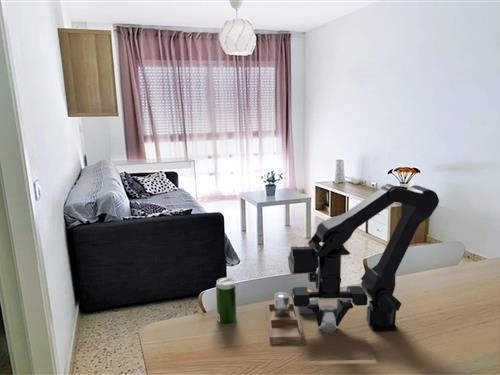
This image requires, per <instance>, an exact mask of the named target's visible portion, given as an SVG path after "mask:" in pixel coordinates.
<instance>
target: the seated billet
mask: <svg viewBox="0 0 500 375" xmlns="http://www.w3.org/2000/svg"><path fill="white" fill-rule="evenodd" d="M273 295H274V297H273V298H274V299H273V300H274V301H273V303H274V316H275V317H290V303H291V294H290V293H288V292H285V291H279V292H275V293H274V294H273Z"/></svg>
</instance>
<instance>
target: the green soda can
mask: <svg viewBox="0 0 500 375" xmlns="http://www.w3.org/2000/svg"><path fill="white" fill-rule="evenodd" d="M236 284H237V283H236V282H235V279H233V277H221V278H218V279H217V280H216V284H215V289H216V292H215V293H216V297H215V298H216V320H217V323H218V324H220V325H223V326H229V325H232V324H234V323H236V322H237V320H238V319H237V318H238V317H237V293H236V292H237V287H236V286H237V285H236Z"/></svg>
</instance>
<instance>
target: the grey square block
mask: <svg viewBox="0 0 500 375" xmlns="http://www.w3.org/2000/svg"><path fill="white" fill-rule="evenodd" d="M297 310H298V314H299V315H300V314H303V315H305V314H314V313H313V311H312V309H308V308H307V307H297Z"/></svg>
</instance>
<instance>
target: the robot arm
mask: <svg viewBox="0 0 500 375" xmlns="http://www.w3.org/2000/svg"><path fill="white" fill-rule="evenodd" d="M394 203H397V204H400V207H401V208H400V209H401V210H400V211H401V212H400V213H401V214H400V218H399V220H398V222H397V224H396V226H395V228H394V230H393V232H392V234H391V235H390V238H389V240H388V242H387V244H386V246H385V249H384V251H383V252H382V254H381V257H380V258H379V261H378V263H377V264H376V265H375V266H373V267H370V266H367V267H366V268H365V272H364V273H363V275H362V276H361V278H360V280H361V283H360V285H352V286H351V285H348V286H347V287H346V289H345V290H341V283H342V277H341V275H342V273H341V272H342V256H349V255H350V254H351V252H350V251H349V250H348V249H347V248H346V247H345V245H344V244H345V243H347V241H348V240H350V239H351V237H352V235H353V234H354V232H355V231H356V230H357V229H358V228H359V227H361V226H362V225H363V224H365V223H366V222H368V221H369V220H371V219H372V218H373V217H375V216H376V215H379V214H380V213H381V212H383V211H384V210H385V209H387V208H388V207H390V206H391V205H393V204H394ZM439 203H440V198H439V196H438V194H437V193H436V191H434V190H432V189H429V188H426V187H423V186H420V185H417V184H416V185H412V186H408V187H406V186H401V185H394V184H390V183H386V184H384V185H383V184H382V186H381V188H380V189H378V190H376V191H375V192H374V193H372V194H371V195H369V196H367V197H366V198H365V199H363V200H362V201H360V202H358V204H356V205H355V206H353V207H352V208H351V209H349V210H347V211H346V212H344V213H341V214H339V215H334V216H331V217H330V218H328V219H326V220H323V221H321V222H320V223H319V224H318V225H317V227H316V232H314V234H313V235H312V237H311V238H310V240H309V241H308V242H307V244H308V246H291V247H290V251H289V254H288V256H287V259H288V260H287V262H288V269H289V271H290V274H291V275H297V274H298V275H300V274H308V275H307V279H308V282H309V283H314V285H315V288H316V290H317V291H312V292H308V290H307V289H308V288H307V287H308V286H296V287H295V286H294V287H293V288H292V289H291V299H292V303H294V306H296V307H297V308H298V307H307V308H308V309H312V311H313V313H312V314H314V317H315V319H316V323H317V326H318V328H319V327H320V305H319V303H318V300H322V301H323V300H336V302H337V304H336V309H337V322H336V327H339V326H340V324H341V322H342V321H343V318H344V316H345V315H346V314H347V313H348V311H349V310H350V309H354V306H367V305H368V306H367V307H366V321H367V323H368V325H369V326H370V327H371V329H372V331H374V332H383V331H385V332H386V331H388V332H389V331H392V332H393V331H398V327H397V325H396V319H397V317H396V316H397V311H399V310H400V309H401V306H402V302H401V301H400V300H398V299H397V298H396V297H395V296H394V293H395V288H396V273H397V272H398V270H399V267H400V266H401V263H402V261H403V259H404V257H405V255H406V253H407V251H408V249H409V247H410V245H411V242H412V240H413V239H414V237H415V235H416V233H417V231H418V228H419V227H420V225H421V224H422V223H424V222H425V221H426V220H427V219H429V218H430V217H431V216H432V215H433V213H434V212H435V211H436V209H437V207H438V206H439ZM320 243H322V245H321V244H320ZM368 298H369V300H368ZM368 301H369V304H368Z"/></svg>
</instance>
